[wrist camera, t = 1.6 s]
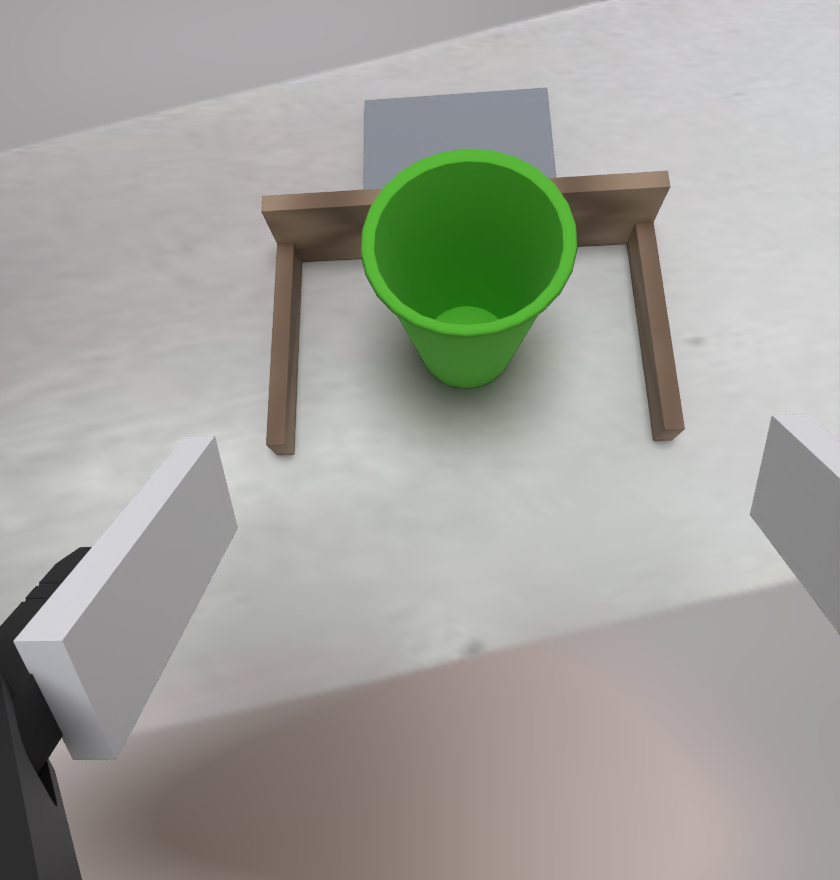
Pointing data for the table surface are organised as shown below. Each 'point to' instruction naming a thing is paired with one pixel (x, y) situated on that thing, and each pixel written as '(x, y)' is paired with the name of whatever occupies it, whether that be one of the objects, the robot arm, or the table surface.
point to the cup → (468, 257)
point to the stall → (597, 223)
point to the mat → (456, 130)
